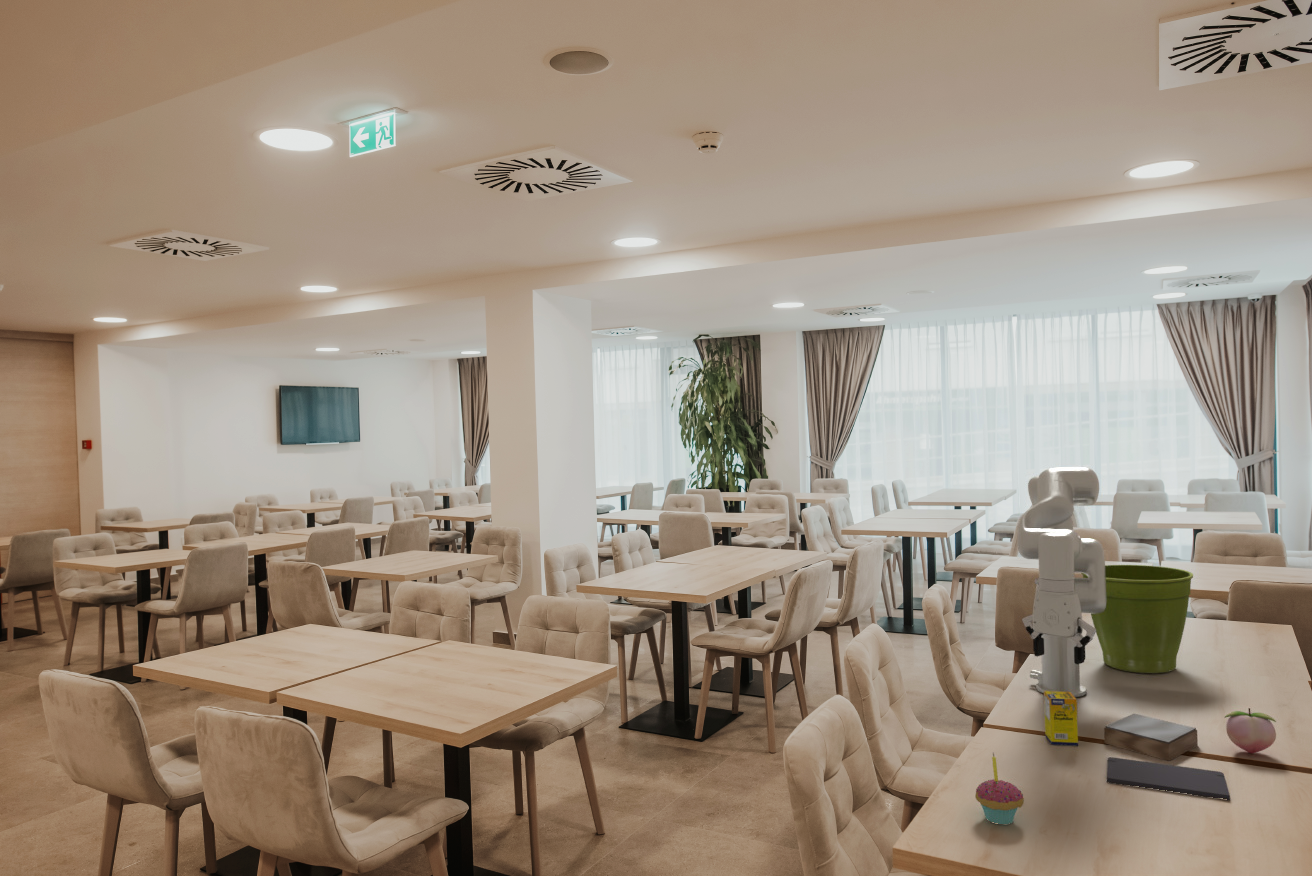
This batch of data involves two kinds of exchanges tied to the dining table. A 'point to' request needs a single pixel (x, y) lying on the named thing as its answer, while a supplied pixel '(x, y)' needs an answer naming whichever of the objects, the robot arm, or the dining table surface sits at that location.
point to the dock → (1151, 736)
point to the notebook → (1167, 777)
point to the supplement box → (1061, 718)
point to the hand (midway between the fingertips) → (1059, 659)
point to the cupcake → (999, 798)
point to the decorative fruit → (1250, 730)
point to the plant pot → (1143, 617)
